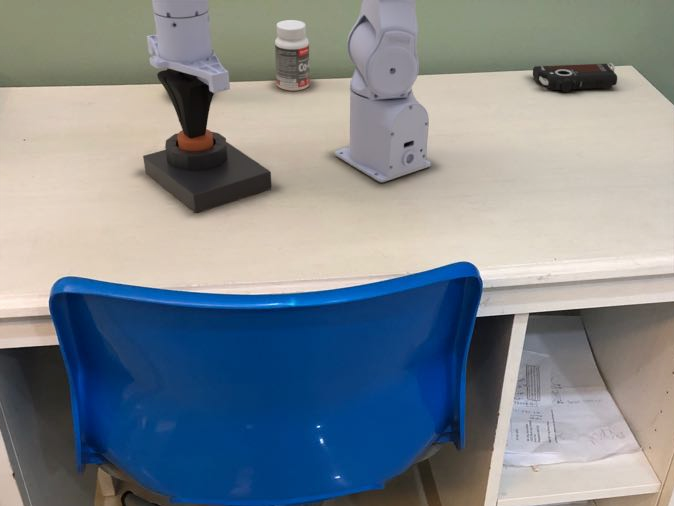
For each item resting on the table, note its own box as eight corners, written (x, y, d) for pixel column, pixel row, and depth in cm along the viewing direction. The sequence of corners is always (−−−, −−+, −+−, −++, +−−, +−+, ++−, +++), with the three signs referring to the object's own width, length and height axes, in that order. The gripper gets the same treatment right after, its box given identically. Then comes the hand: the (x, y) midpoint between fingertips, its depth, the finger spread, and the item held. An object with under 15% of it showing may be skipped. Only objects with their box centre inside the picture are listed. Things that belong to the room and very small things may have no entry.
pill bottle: (305, 92, 122) (303, 31, 117) (272, 89, 123) (269, 28, 118) (313, 80, 126) (312, 20, 120) (281, 77, 127) (279, 17, 121)
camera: (620, 75, 123) (545, 78, 123) (616, 93, 125) (542, 96, 125) (607, 55, 128) (534, 58, 127) (603, 74, 130) (531, 77, 129)
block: (271, 188, 100) (270, 156, 98) (195, 213, 96) (191, 179, 93) (218, 152, 107) (215, 120, 105) (145, 173, 103) (140, 140, 100)
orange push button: (220, 150, 100) (219, 136, 99) (189, 159, 98) (188, 145, 97) (203, 139, 103) (201, 124, 102) (172, 147, 101) (171, 132, 100)
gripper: (114, -2, 93) (134, 121, 102) (180, 36, 84) (195, 166, 93) (173, -12, 96) (187, 107, 105) (242, 23, 88) (251, 150, 97)
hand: (195, 134), depth 99 cm, fingers closed, pressing on orange push button
